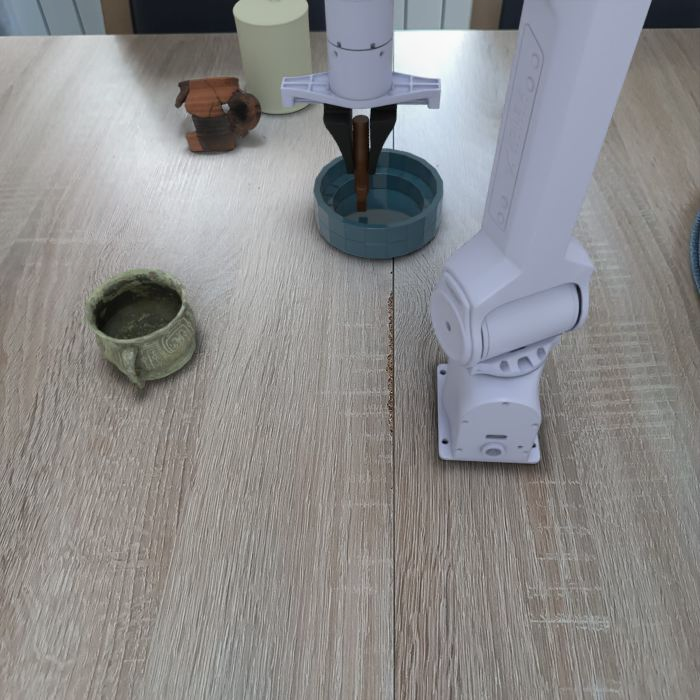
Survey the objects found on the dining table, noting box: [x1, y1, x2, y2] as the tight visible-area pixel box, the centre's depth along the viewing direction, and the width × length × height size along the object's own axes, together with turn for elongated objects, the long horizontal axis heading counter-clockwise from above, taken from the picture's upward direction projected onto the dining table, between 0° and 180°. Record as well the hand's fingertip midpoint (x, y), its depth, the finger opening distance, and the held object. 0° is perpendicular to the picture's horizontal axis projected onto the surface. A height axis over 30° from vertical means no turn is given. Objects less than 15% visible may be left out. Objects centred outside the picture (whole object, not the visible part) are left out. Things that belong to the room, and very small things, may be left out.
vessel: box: [83, 267, 197, 389], centre depth 58 cm, size 12×9×6 cm
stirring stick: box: [352, 114, 370, 212], centre depth 66 cm, size 3×2×10 cm, turn 176°
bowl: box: [312, 147, 444, 260], centre depth 70 cm, size 13×13×4 cm
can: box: [232, 0, 313, 115], centre depth 83 cm, size 9×9×12 cm
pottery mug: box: [174, 76, 263, 152], centre depth 81 cm, size 12×10×8 cm
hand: (361, 168), depth 67 cm, fingers closed on stirring stick, 1 cm apart
